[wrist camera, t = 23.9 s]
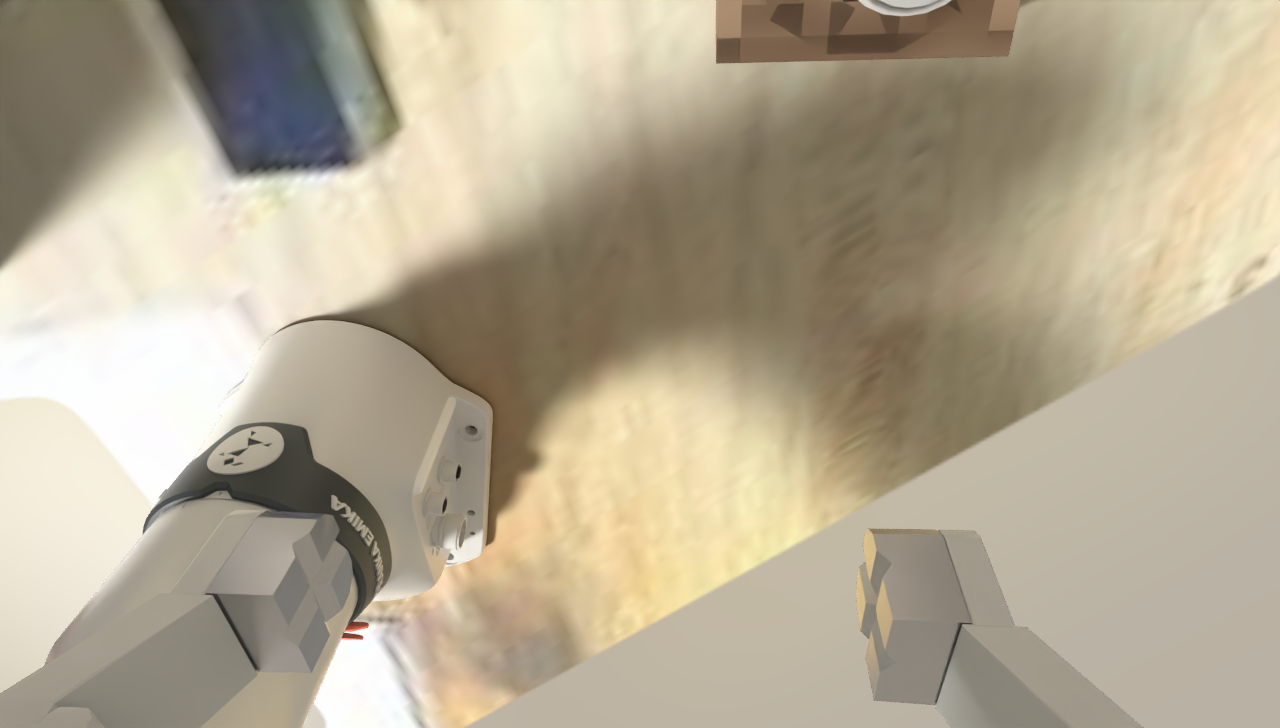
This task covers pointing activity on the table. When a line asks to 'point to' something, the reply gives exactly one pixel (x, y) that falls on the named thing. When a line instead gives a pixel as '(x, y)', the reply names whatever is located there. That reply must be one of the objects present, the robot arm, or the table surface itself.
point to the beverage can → (903, 6)
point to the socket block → (859, 31)
